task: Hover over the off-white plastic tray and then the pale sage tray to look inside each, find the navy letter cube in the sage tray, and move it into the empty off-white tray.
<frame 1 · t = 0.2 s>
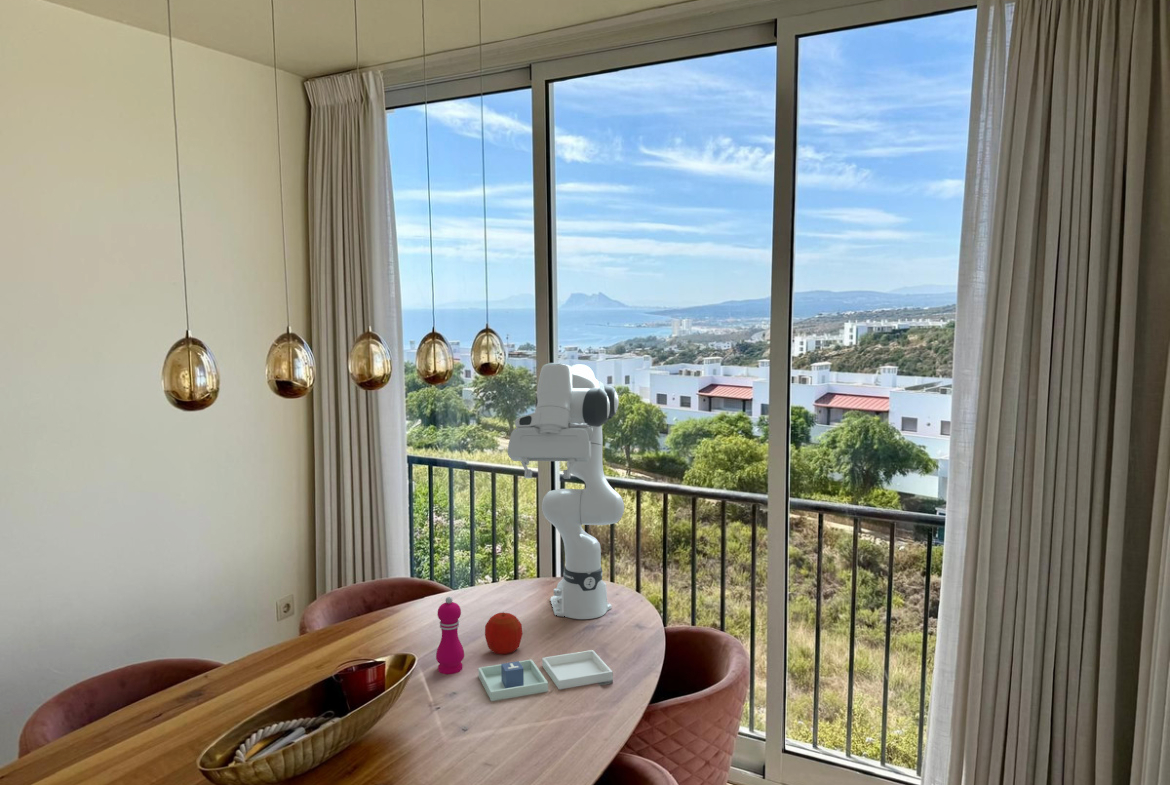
hand: (547, 477, 186), 54 cm above the table, tool tilted 30°, fingers open, 8 cm apart
letter cube: (512, 683, 194), point 1 cm above the table, touching tray sage
tray offwhite: (576, 675, 200), on the table
tray sage: (512, 686, 194), on the table
pepper mill: (450, 672, 203), on the table
apple: (503, 652, 215), on the table
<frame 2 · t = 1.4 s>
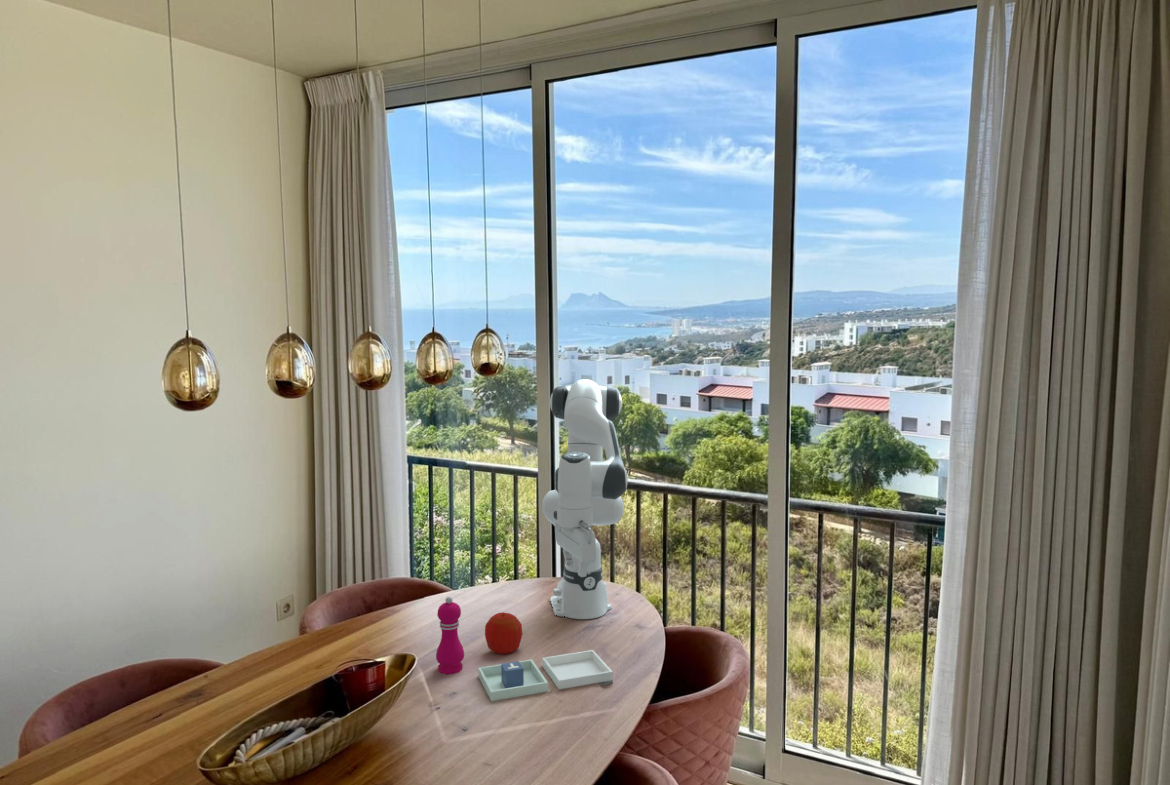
hand: (575, 570, 197), 28 cm above the table, tool pointing down, fingers open, 8 cm apart
nothing on the table moved.
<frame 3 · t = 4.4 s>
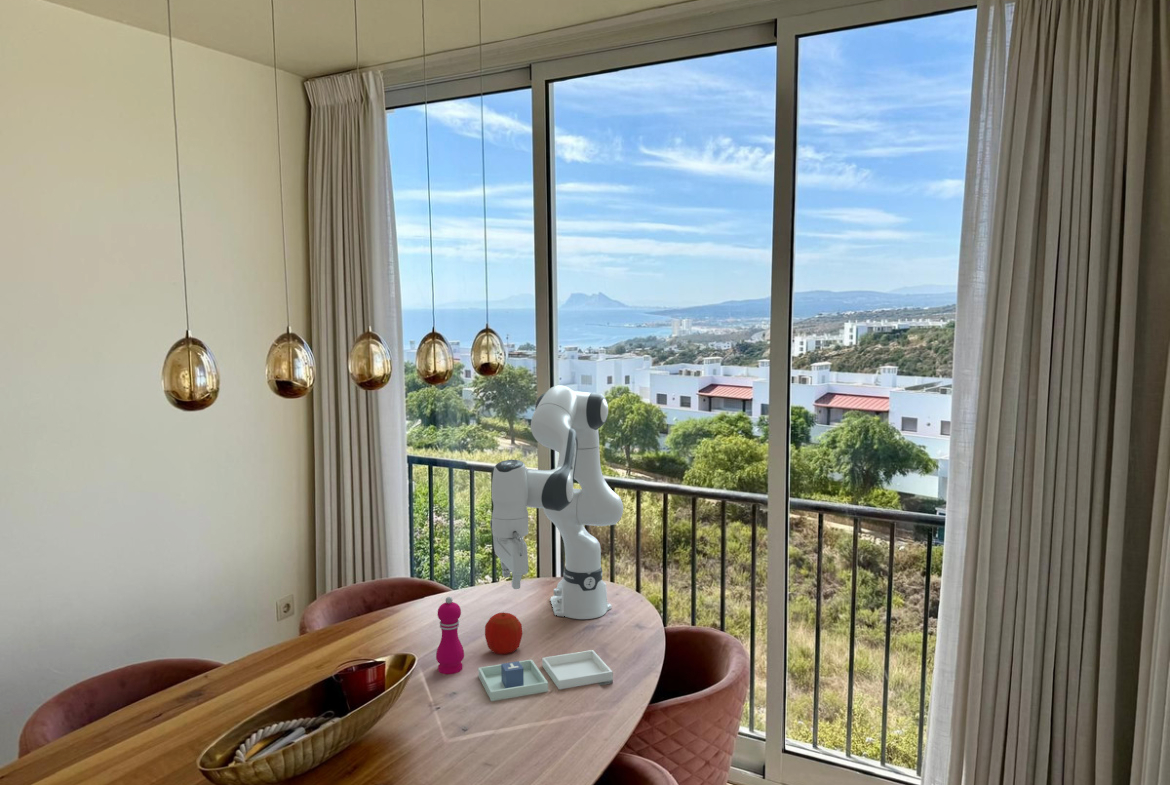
hand: (511, 582, 192), 27 cm above the table, tool pointing down, fingers open, 8 cm apart
nothing on the table moved.
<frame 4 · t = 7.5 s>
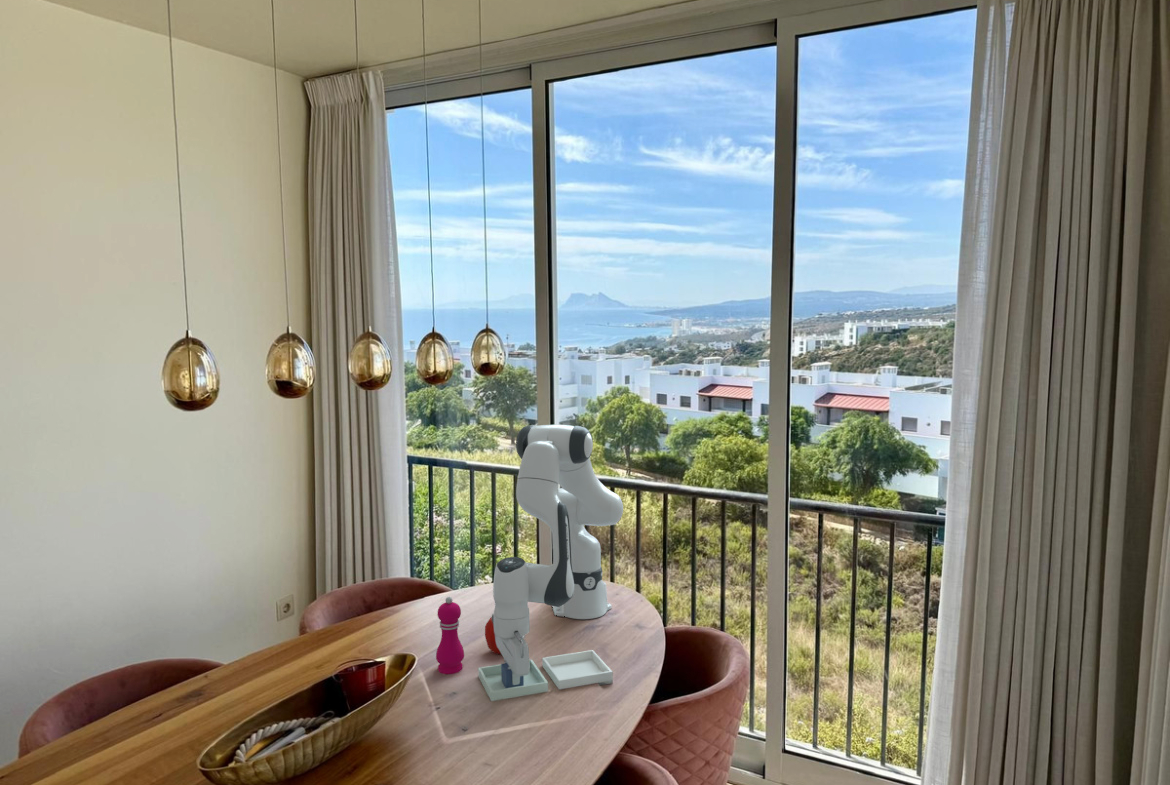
hand: (512, 678, 194), 2 cm above the table, tool pointing down, fingers closed on letter cube, 4 cm apart
letter cube: (512, 683, 194), point 1 cm above the table, touching gripper, tray sage
everything else where it was.
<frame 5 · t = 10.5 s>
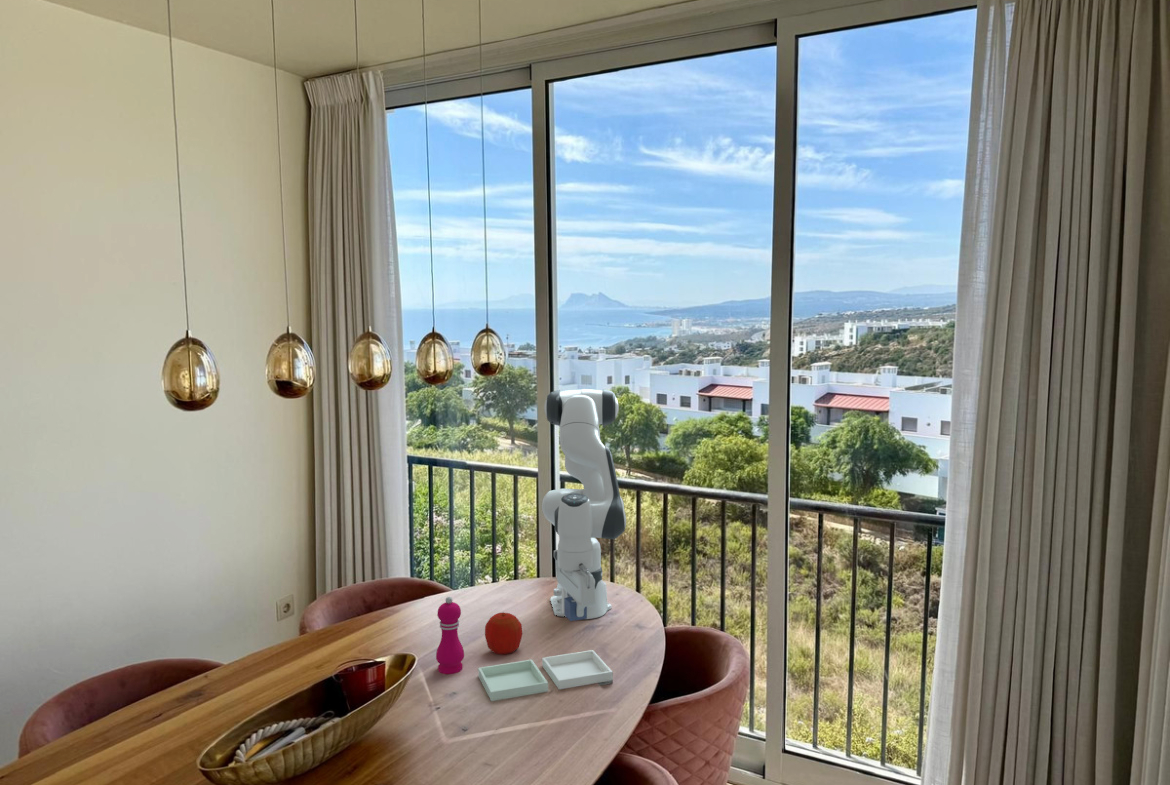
hand: (575, 611, 199), 17 cm above the table, tool pointing down, fingers closed on letter cube, 4 cm apart
letter cube: (575, 616, 199), point 16 cm above the table, touching gripper
everything else where it was.
when the fingers open (4 cm above the table, at t = 13.5 s): letter cube drops 1 cm, resting on tray offwhite.
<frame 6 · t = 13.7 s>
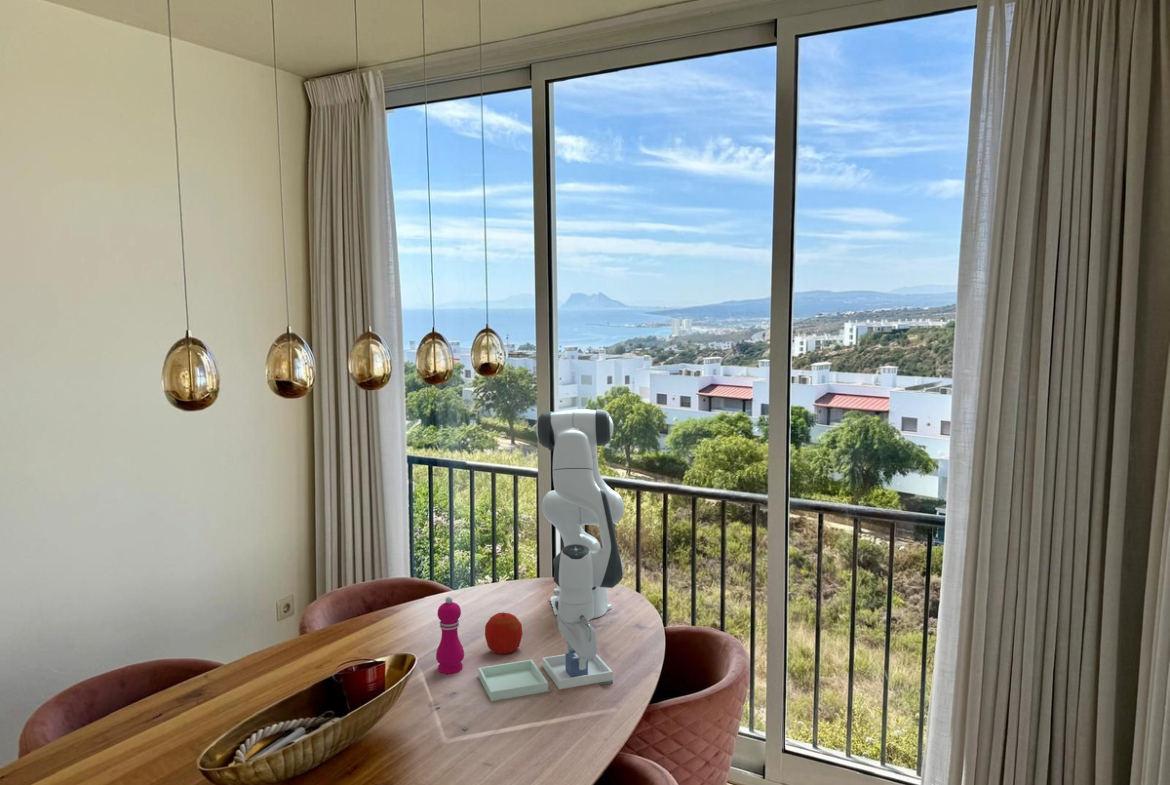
hand: (576, 662, 200), 4 cm above the table, tool pointing down, fingers open, 6 cm apart
letter cube: (576, 672, 200), point 1 cm above the table, touching tray offwhite
everything else where it was.
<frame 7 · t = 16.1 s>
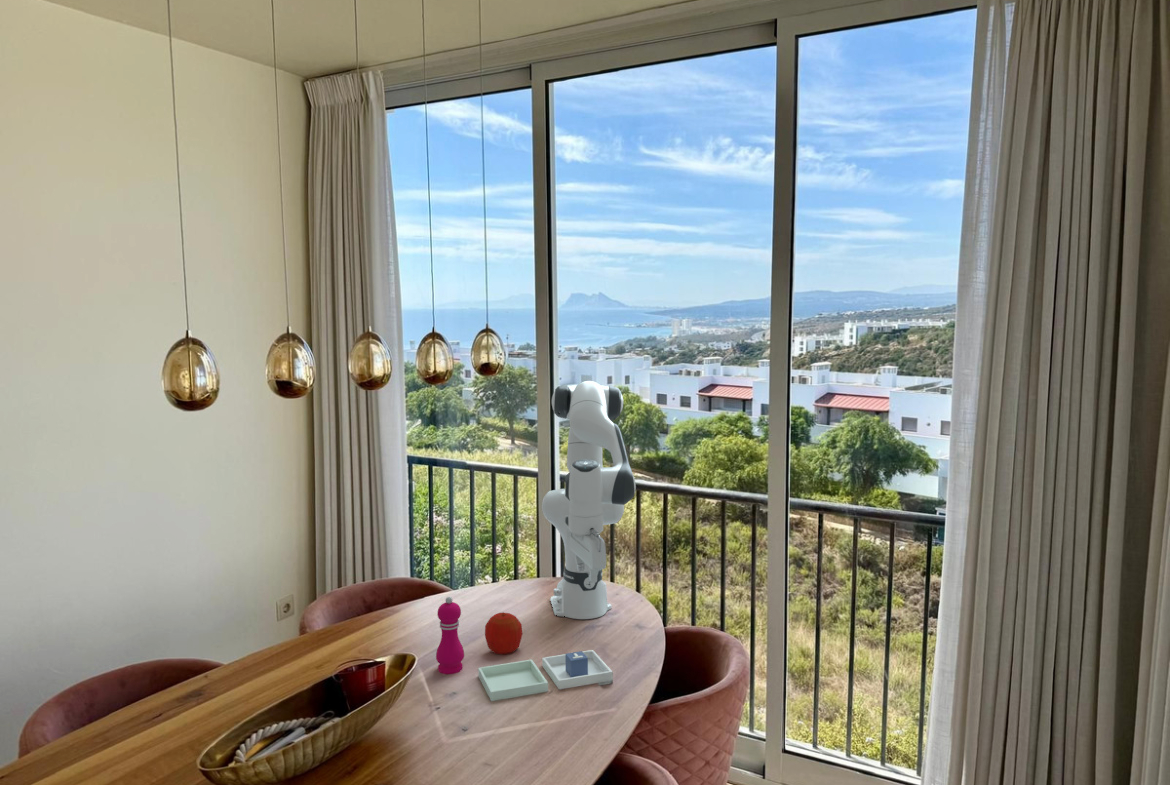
hand: (586, 575, 201), 25 cm above the table, tool pointing down, fingers open, 8 cm apart
nothing on the table moved.
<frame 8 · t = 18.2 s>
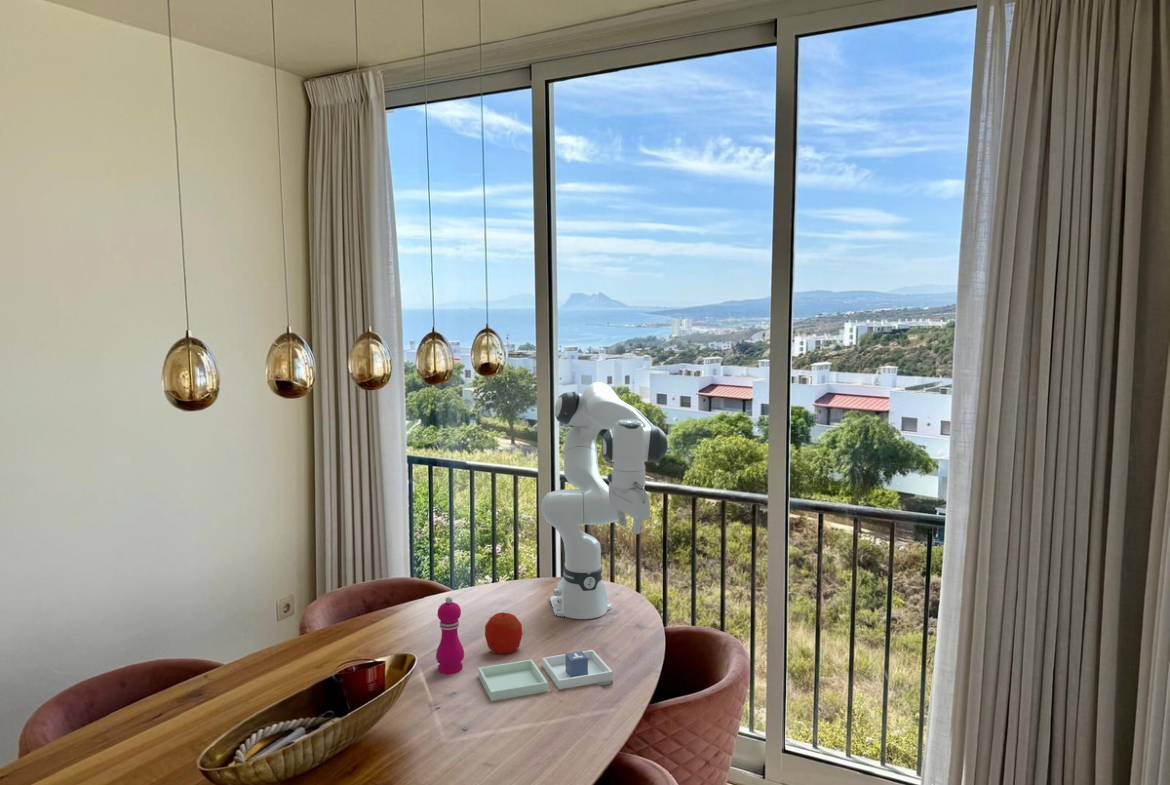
hand: (629, 529, 213), 34 cm above the table, tool pointing down, fingers open, 8 cm apart
nothing on the table moved.
at the end: letter cube inside the target area on the tray offwhite (0.1 cm from its centre), point 0.8 cm above the tray offwhite's base; the gripper is holding nothing; letter cube tilted 0° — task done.
